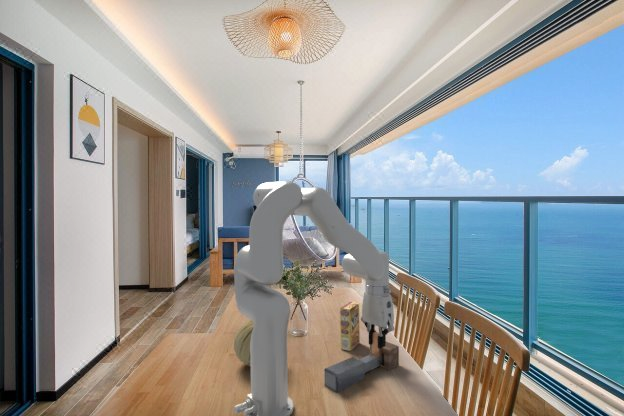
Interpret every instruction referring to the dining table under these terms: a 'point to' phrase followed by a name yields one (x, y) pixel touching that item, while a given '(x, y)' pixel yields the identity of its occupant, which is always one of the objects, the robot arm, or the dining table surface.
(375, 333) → the sliding latch bolt
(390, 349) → the socket
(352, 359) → the dark grey rectangular box
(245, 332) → the cantaloupe
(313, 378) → the dining table surface
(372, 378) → the dining table surface
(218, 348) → the dining table surface
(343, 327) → the candy box
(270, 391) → the robot arm
